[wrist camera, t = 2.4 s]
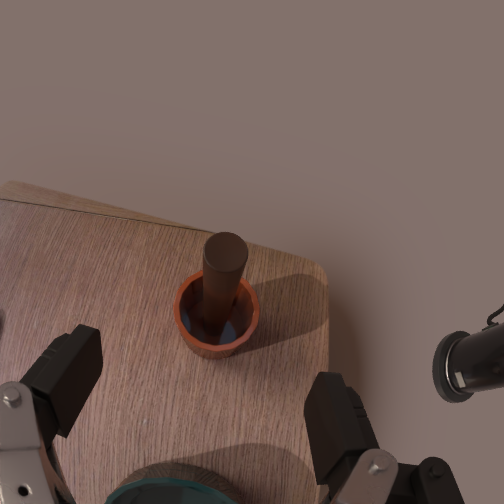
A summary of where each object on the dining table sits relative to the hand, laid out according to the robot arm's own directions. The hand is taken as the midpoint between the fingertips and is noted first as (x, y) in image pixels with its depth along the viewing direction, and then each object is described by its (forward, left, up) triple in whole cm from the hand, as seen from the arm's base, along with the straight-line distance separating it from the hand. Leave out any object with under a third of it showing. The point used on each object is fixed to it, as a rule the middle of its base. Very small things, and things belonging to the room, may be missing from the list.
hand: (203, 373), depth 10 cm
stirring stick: (-2, -6, -20) cm, 21 cm away
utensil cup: (-2, -6, -21) cm, 22 cm away
